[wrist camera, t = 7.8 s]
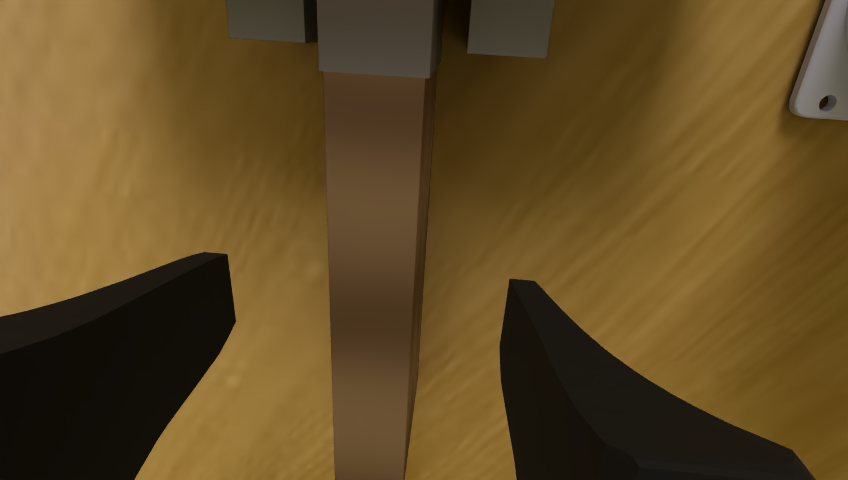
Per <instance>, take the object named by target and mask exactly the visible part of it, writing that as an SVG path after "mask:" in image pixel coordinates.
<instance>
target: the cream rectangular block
mask: <svg viewBox="0 0 848 480" xmlns="http://www.w3.org/2000/svg"><path fill="white" fill-rule="evenodd" d="M554 3H555V0H470V9H469V21H468V33H467V44H466V48H467V53H470V54H485V55H501V56H517V57H532V58H546V56H547V50H548V43H549V36H550V30H551V23H552V16H553V10H554ZM226 6H227V16H228V26H229V36H230V38H234V39H250V40H266V41H281V42H297V43H310V42H318V26H317V0H226Z"/></svg>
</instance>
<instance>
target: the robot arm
mask: <svg viewBox="0 0 848 480" xmlns="http://www.w3.org/2000/svg"><path fill="white" fill-rule="evenodd" d="M825 96H828V103H827V104H826V106H825V107H823V108H822V109H820V108H819V103H820V101H821V100H822V98H824V97H825ZM789 108H790V111H791V112H792V113H793V114H794V115H797V116H801V117H805V118H819V119H833V120H848V0H825V3H824V5H823V8H822V11H821V14H820V17H819V19H818V22H817V25H816V28H815V31H814V33H813V36H812V39H811V42H810V44H809V47H808V50H807V53H806V56H805V58H804V61H803V64H802V67H801V70H800V72H799V75H798V78H797V81H796V83H795V86H794V89H793V92H792V95H791V97H790V101H789ZM235 322H236V318H235V310H234V302H233V294H232V287H231V279H230V271H229V263H228V255H227V254H220V253H208V252H203V253H199V254H195V255H191V256H188V257H185V258H182V259H179V260H177V261H174V262H171V263H168V264H166V265H163V266H161V267H158V268H155V269H153V270H150V271H147V272H145V273H142V274H139V275H137V276H134V277H132V278H129V279H126V280H123V281H121V282H118V283H115V284H112V285H109V286H106V287H103V288H101V289H98V290H95V291H92V292H89V293H86V294H83V295H80V296H77V297H74V298H71V299H68V300H64V301H61V302H58V303H54V304H50V305H47V306H43V307H39V308H36V309H32V310H28V311H24V312H20V313H16V314H11V315H7V316H2V317H0V480H134V479H135V477H136V476H137V474H138V472H139V471H140V469H141V467H142V465H143V464H144V462H145V460H146V459H147V457H148V455H149V453H150V452H151V450H152V448H153V447H154V445H155V443H156V441H157V440H158V438H159V437H160V435H161V434H162V432H163V431H164V429H165V428H166V426H167V425H168V423H169V422H170V421H171V419H172V418H173V417H174V415H175V414H176V413H177V411H178V410H179V408H180V407H181V406H182V404H183V403H184V402H185V400H186V399H187V398H188V396H189V395H190V394H191V392H192V391H193V389H194V388H195V387H196V385H197V384H198V383H199V381H200V380H201V379H202V377H203V376H204V374H205V373H206V372H207V370H208V369H209V367H210V366H211V365H212V363H213V362H214V361H215V359H216V358H217V356H218V355H219V353H220V351H221V350H222V348H223V346H224V344H225V342H226V341H227V339H228V337H229V335H230V333H231V331H232V329H233V326H234V324H235ZM500 371H501V384H502V391H503V397H504V403H505V409H506V414H507V420H508V426H509V432H510V437H511V443H512V449H513V455H514V461H515V469H516V477H517V480H815V478H814V477H813V476H812V474H811V473H810V472H809V471H808V469H807V468H806V467H805V465H804V464H803V463H802V462H801V460H800V459H799V458H798V456H797V455H796V454H795V453H794V452H793V450H791V449H789V448H786V447H784V446H781V445H779V444H777V443H774V442H772V441H769V440H767V439H765V438H762V437H760V436H758V435H755V434H753V433H750V432H748V431H746V430H743V429H741V428H738V427H736V426H734V425H731V424H729V423H727V422H725V421H723V420H721V419H719V418H717V417H715V416H713V415H711V414H709V413H707V412H705V411H703V410H701V409H699V408H697V407H695V406H693V405H691V404H689V403H687V402H685V401H683V400H682V399H680V398H678V397H676V396H674V395H673V394H671V393H669V392H668V391H666V390H664V389H663V388H661V387H659V386H658V385H656V384H654V383H653V382H651V381H649V380H648V379H646V378H645V377H643V376H641V375H640V374H638V373H637V372H635V371H634V370H632V369H631V368H630V367H628V366H627V365H626V364H624V363H623V362H621V361H620V360H619V359H617V358H616V357H614V356H613V355H612V354H610V353H609V352H608V351H607V350H605V349H604V348H603V347H602V346H600V345H599V344H598V343H597V342H596V341H595V340H594V339H592V338H591V337H590V336H589V335H588V334H587V333H585V332H584V331H583V330H582V329H581V328H580V327H579V326H578V325H577V324H576V323H575V322H574V321H573V320H572V319H571V318H570V317H569V316H568V315H567V314H566V313H565V312H564V311H563V310H562V309H561V308H560V307H559V306H558V305H557V304H556V303H555V302H554V301H553V300H552V299H551V298H550V297H549V296H548V295H547V294H546V292H545V291H544V290H543V289H542V288H541V287H540V286H539V285H538V284H537V283H536V282H535V281H529V280H518V279H510V280H509V287H508V293H507V300H506V307H505V314H504V320H503V327H502V334H501V341H500Z"/></svg>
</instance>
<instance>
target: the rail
mask: <svg viewBox="0 0 848 480" xmlns="http://www.w3.org/2000/svg"><path fill="white" fill-rule="evenodd" d="M444 2H445V0H317V26H318V57H319V71H323V83H324V117H325V152H326V186H327V221H328V255H329V290H330V324H331V359H332V393H333V427H334V462H335V480H404V479H405V471H406V464H407V456H408V448H409V441H410V433H411V425H412V418H413V410H414V402H415V395H416V387H417V378H418V363H419V347H420V331H421V316H422V300H423V284H424V268H425V253H426V237H427V221H428V206H429V190H430V174H431V159H432V143H433V127H434V111H435V96H436V80H437V66H438V65H439V63H440V62H441V47H442V32H443V17H444Z"/></svg>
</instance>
